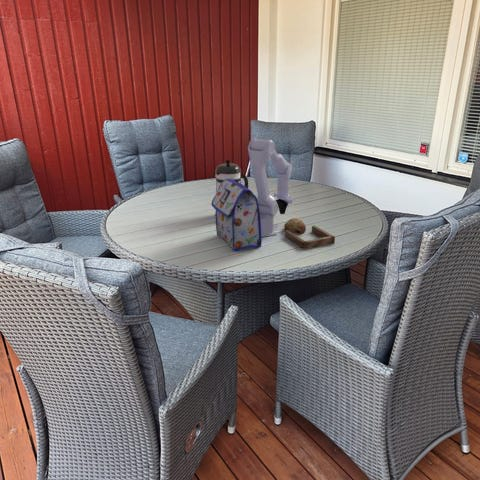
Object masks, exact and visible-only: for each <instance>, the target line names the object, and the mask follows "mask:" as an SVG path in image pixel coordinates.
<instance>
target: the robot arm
mask: <svg viewBox="0 0 480 480" xmlns="http://www.w3.org/2000/svg"><path fill="white" fill-rule="evenodd" d="M275 147H276V143H275V142H274V141H273V140H272V139H268V140H267V139H259V138H251V139H250V141H249V143H248V146H247V151H248V157H249V161H250V162H251V168H252V173H253V178H254V183H255V187H256V192H257V196H256V198H257V201H258V205H259V210H260V220H261V238H264V237H265V238H266V237H270V236H276V235H277V234H278V233H277V232H276V231H274V221H275V220H274V219H275V218H274V217H275V216H276V215H277V213H278V212H279V214H280V215H284V214H286V211H287V207H288V206H289V205H290V204H291V205H292V204H293V199H292V198H291V194H290V180H291V177H292V172H293V166H292V164H291V163H290V162H287V161H286V159H285V158H284V157H283V155H282V154H281V153H278V152H277V151H276V148H275ZM269 162H270V163H271V164H272V166H273V167H274V169H275V170H274V171H275V173H276V174H277V182H276V183H277V184H276V191H274V192H273V196H272V195H271V192H270V188H269V181H268V177H267V176H268V175H267V171H266V166H265V165H266V164H268V163H269ZM275 197H276V198H275Z"/></svg>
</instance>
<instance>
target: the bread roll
mask: <svg viewBox="0 0 480 480" xmlns="http://www.w3.org/2000/svg"><path fill="white" fill-rule="evenodd" d="M283 229H284V231H287V230H288V231H290V232H292V233H293V234H295V235H296V236H297V235H301V234H304V233H305V232H306V230H307V227H306V224H305V222H303V221H302V220H301V219H299V218H297V217H295V218H294V217H293V218H291V219H289V220H287V222H285V223H284V225H283Z"/></svg>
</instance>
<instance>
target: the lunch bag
mask: <svg viewBox="0 0 480 480" xmlns="http://www.w3.org/2000/svg"><path fill="white" fill-rule="evenodd" d="M210 204H211V207H212V208H213V209H215V213H216V216H215V227H216V228H215V229H216V230H215V231H216V235H217V236H219V237H220V238H222V239H223V240H224V241H225V242H226V243H227V244H228V245H229V246H230V248H231V249H232V250H233V251H234V252H237V251H243V250H247V249H251V248H261V247H262V243H263V242H262V237H261V220H260V210H259V205H258V201H257V195H255V193H254V192H253V191H252V190H251V189H249V187H248V188H246V187H245V184H243V183H242V182H241V183H239V182H235V181H234V180H233V179H225V180H224V181H222V183H221V184H220V186H219V189H218V191H217V193H215V195H214V197H213V199H212V200H211V203H210Z"/></svg>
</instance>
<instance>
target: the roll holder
mask: <svg viewBox="0 0 480 480" xmlns="http://www.w3.org/2000/svg"><path fill="white" fill-rule="evenodd" d="M284 231H285V230H284ZM311 233H313V234H315V235H316V236H318V238H313V239H308V240H304V239H302V238H301V237H299V236H298V235H297V234H296V235H295V234H293V233H292V232H290V231H288V230H287V231H285V233H284V237H285V238H286V239H287V240H289V241H290V242H292V243H293V244H295V245H296V246H298V247H299V248H301V249H302V250H307V249H311V248H317V247H322V246H327V245H330V244H335V240H336V236H335V235H333V234H330V233H329V232H327V230H324V229H322V228H320V227H318V226H316V225H311Z"/></svg>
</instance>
